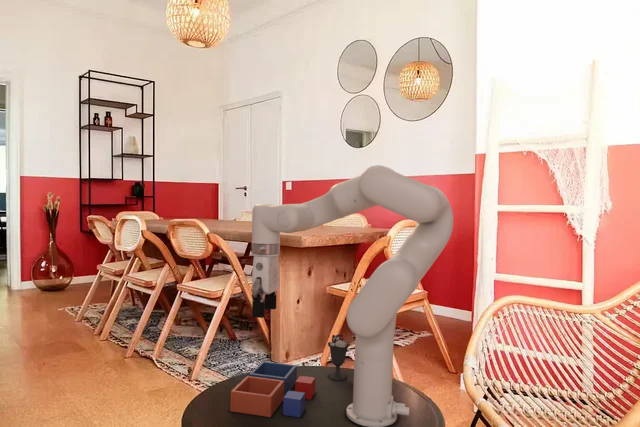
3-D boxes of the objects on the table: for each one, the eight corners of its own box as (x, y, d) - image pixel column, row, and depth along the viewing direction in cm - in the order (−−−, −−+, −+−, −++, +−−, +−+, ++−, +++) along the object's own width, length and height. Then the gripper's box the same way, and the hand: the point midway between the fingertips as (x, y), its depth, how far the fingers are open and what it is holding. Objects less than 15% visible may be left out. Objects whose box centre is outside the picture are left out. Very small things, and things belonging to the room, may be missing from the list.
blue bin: (296, 382, 137) (297, 365, 136) (285, 397, 126) (286, 378, 126) (262, 378, 139) (262, 361, 139) (248, 392, 129) (249, 373, 129)
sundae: (347, 382, 138) (348, 332, 137) (324, 380, 139) (326, 329, 138) (350, 374, 144) (351, 326, 144) (328, 372, 145) (330, 324, 145)
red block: (314, 393, 130) (315, 377, 129) (310, 399, 125) (311, 383, 125) (299, 391, 131) (299, 375, 130) (294, 397, 126) (295, 381, 126)
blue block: (304, 409, 119) (305, 392, 119) (299, 417, 115) (300, 399, 115) (288, 407, 120) (288, 390, 120) (282, 414, 116) (283, 397, 116)
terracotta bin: (283, 399, 125) (284, 380, 125) (270, 417, 115) (271, 396, 114) (246, 394, 127) (247, 375, 127) (230, 411, 117) (230, 391, 117)
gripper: (268, 254, 117) (267, 322, 118) (288, 247, 134) (287, 306, 135) (240, 252, 119) (239, 319, 119) (263, 246, 136) (262, 305, 136)
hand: (264, 312), depth 127 cm, fingers open, 9 cm apart
